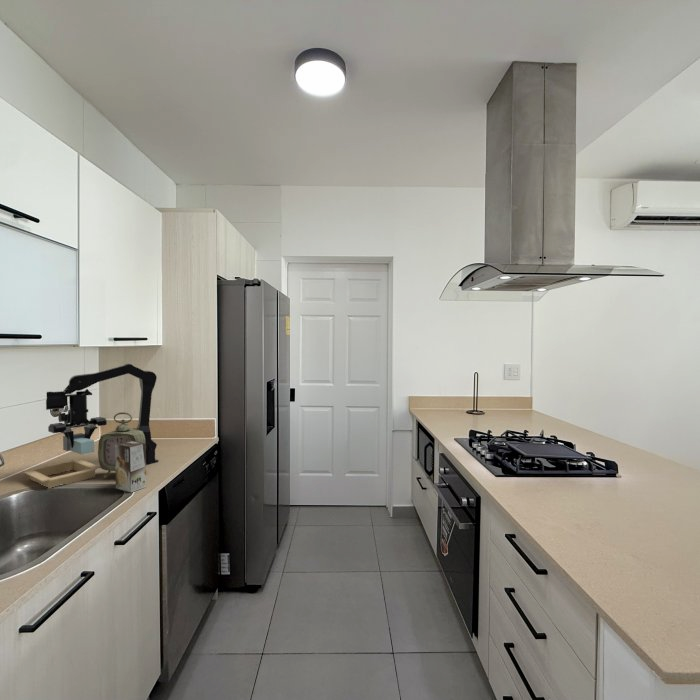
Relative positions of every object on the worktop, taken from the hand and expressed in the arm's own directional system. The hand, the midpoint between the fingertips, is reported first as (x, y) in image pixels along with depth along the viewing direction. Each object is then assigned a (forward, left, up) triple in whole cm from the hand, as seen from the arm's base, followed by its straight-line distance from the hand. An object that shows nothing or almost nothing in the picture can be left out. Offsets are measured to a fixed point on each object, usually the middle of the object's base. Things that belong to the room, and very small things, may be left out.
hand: (79, 446), depth 160 cm
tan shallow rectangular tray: (-1, +6, -11) cm, 12 cm away
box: (-1, 0, -2) cm, 2 cm away
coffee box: (-33, -3, -11) cm, 35 cm away
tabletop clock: (-18, -8, -11) cm, 23 cm away
